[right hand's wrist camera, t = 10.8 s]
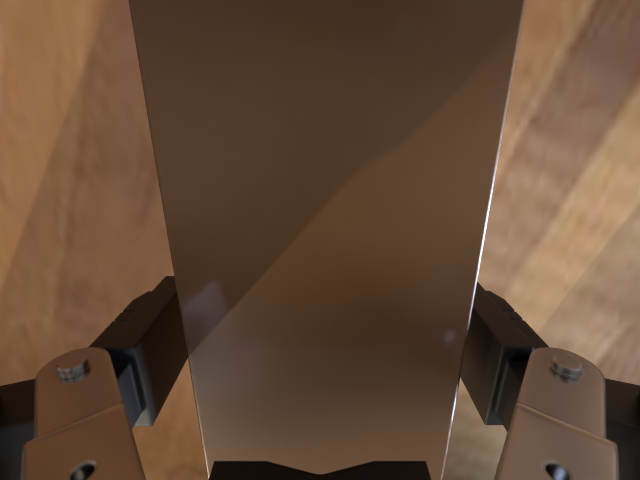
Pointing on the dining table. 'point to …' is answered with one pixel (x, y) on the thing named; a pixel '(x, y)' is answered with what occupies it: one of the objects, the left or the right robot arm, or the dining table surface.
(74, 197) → the dining table surface
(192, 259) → the box
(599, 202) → the dining table surface
